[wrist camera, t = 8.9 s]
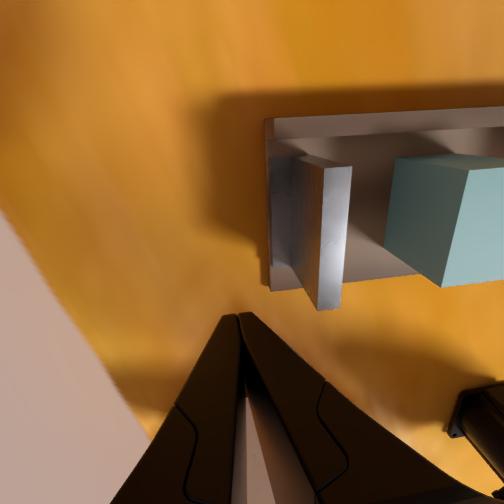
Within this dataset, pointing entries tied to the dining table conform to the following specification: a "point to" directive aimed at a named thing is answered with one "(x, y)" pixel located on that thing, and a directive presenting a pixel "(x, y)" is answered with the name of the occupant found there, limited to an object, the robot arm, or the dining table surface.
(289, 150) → the shelf board
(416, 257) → the teal block
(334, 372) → the dining table surface
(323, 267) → the bookend
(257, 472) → the photo printer
